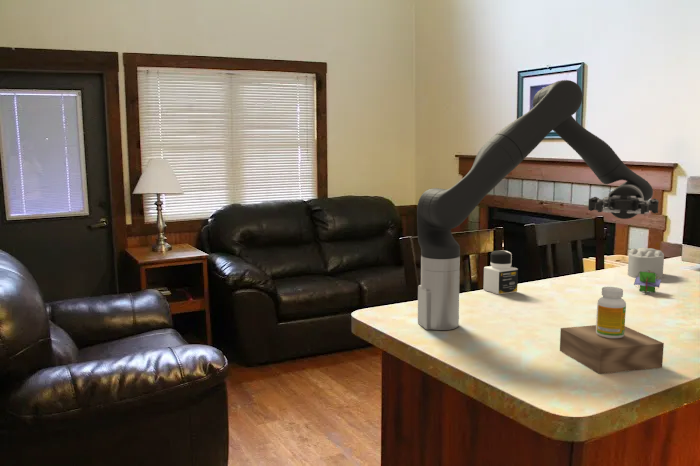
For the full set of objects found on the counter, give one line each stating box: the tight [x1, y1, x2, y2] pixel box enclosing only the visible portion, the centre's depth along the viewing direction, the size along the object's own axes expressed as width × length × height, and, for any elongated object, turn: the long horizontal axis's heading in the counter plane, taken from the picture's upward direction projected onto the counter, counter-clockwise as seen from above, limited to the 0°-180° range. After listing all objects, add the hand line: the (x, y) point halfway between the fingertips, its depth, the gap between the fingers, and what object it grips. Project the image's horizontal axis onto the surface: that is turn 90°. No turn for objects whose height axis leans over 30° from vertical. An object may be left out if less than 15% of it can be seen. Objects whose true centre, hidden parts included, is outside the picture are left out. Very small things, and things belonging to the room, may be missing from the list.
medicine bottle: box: [483, 249, 519, 296], centre depth 188 cm, size 7×7×12 cm
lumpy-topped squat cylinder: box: [627, 247, 665, 279], centre depth 207 cm, size 10×13×9 cm
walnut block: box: [559, 324, 665, 375], centre depth 130 cm, size 14×14×5 cm
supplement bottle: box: [595, 286, 627, 339], centre depth 129 cm, size 5×5×10 cm
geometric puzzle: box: [633, 270, 662, 295], centre depth 185 cm, size 7×7×8 cm
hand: (620, 208), depth 136 cm, fingers open, 8 cm apart
